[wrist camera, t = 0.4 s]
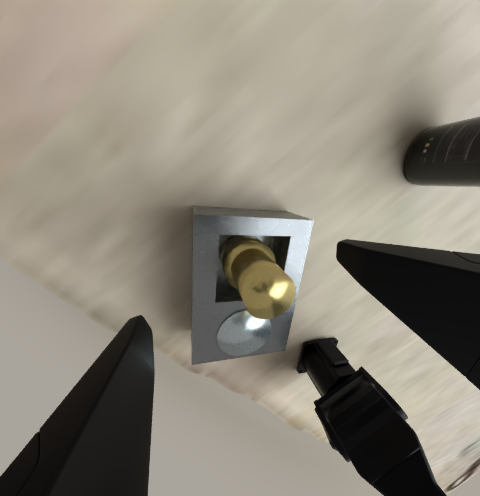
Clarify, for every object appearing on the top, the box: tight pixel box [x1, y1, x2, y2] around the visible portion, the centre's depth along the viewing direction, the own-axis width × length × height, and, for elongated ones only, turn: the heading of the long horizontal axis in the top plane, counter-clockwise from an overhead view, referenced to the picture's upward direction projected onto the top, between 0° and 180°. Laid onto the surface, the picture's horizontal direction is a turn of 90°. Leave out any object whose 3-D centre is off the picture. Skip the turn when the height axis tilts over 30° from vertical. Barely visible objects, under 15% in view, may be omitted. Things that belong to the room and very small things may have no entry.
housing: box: [191, 206, 314, 365], centre depth 21 cm, size 16×11×5 cm
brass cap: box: [220, 235, 296, 319], centre depth 17 cm, size 5×5×8 cm
